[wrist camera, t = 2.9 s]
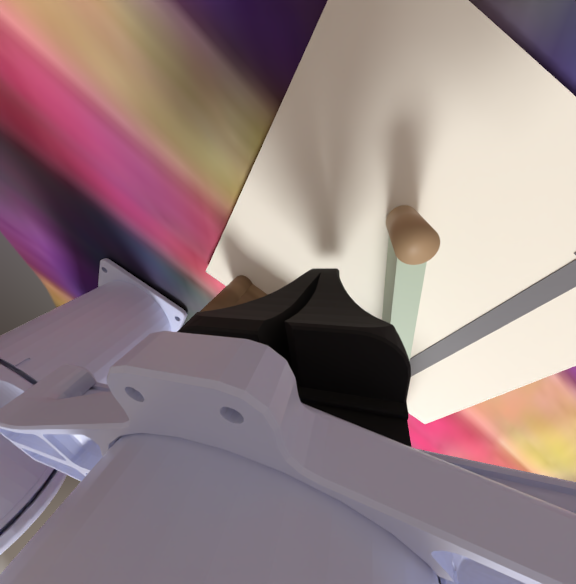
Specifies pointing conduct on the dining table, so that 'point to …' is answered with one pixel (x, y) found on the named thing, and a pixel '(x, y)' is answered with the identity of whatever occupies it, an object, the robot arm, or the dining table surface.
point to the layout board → (424, 190)
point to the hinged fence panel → (406, 269)
